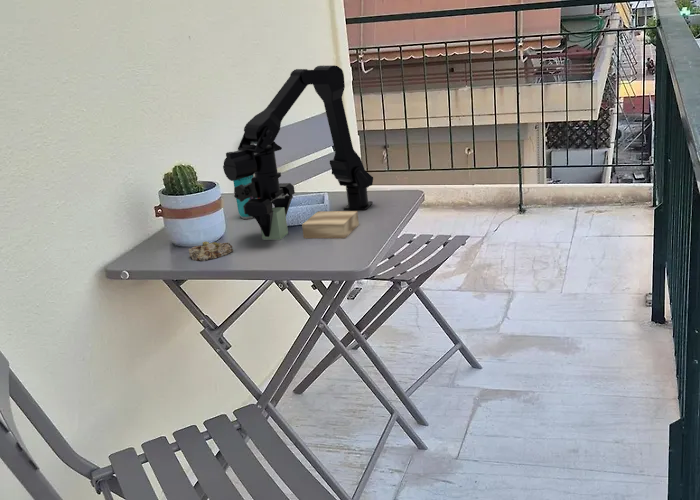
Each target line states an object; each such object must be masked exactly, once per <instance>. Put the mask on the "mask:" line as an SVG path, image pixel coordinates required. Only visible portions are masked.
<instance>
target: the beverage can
mask: <svg viewBox="0 0 700 500" xmlns="http://www.w3.org/2000/svg"><path fill="white" fill-rule="evenodd" d="M254 176H255V175H254V174H253V175H252V176H248V177H245V178H241V179H238V180H234V181H232V182H233V189H234V188H235V187H237V186H239V185H241V184H242V185H243V186H245V185H247V184H249V183H251V179H252V178H253V177H254ZM235 199H236V206H237V212H238V214H239V216H240V219H242V220H243V219H244V220H250V219H255V218H254V217H252V216H248V214H244V208H243V206H244V205H245V204H246V203H247V202H248V201H250V200H251V199H257V198H253V196H252V197H249V198H247V199H245V200H244V201H242V202H240V200H239V199H237V198H235Z"/></svg>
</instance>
